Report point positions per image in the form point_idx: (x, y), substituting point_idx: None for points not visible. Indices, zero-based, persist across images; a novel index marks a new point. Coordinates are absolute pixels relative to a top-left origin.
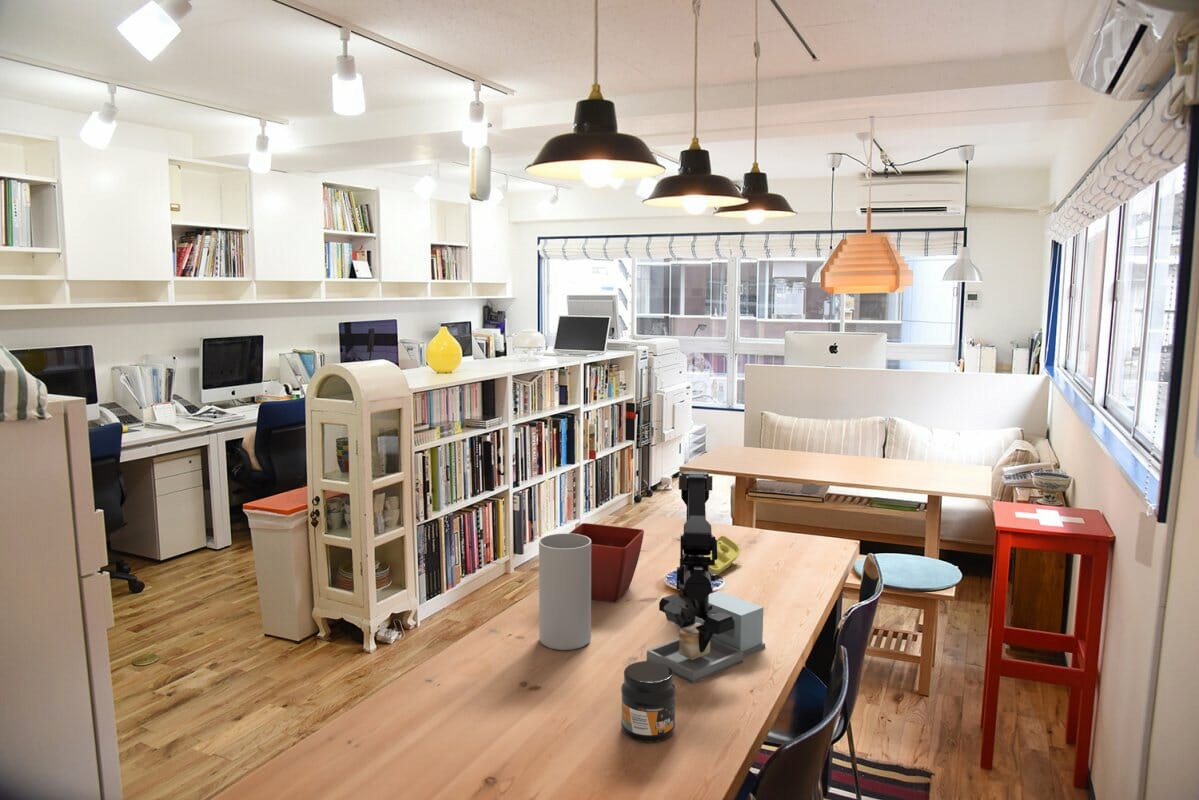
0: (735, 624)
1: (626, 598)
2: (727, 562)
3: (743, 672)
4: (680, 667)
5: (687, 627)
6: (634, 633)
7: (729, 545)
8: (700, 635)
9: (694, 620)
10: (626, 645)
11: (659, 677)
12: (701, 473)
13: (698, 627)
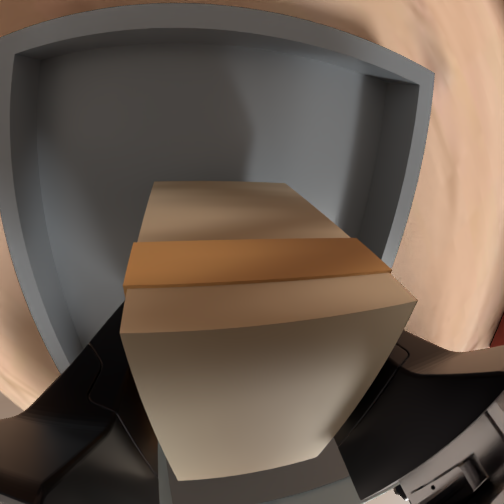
0: (166, 501)
1: (493, 327)
2: None
3: (16, 323)
4: (112, 8)
5: (350, 389)
6: (482, 238)
7: None
8: (97, 390)
9: (344, 457)
10: (482, 152)
11: None
12: None
13: (6, 499)
